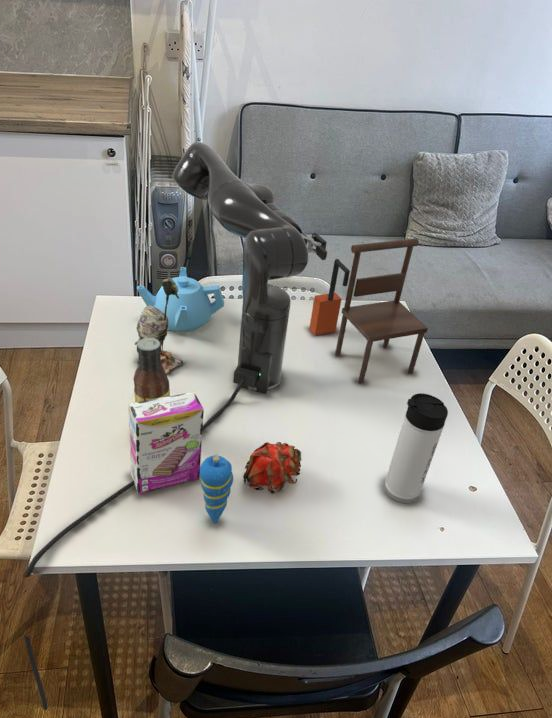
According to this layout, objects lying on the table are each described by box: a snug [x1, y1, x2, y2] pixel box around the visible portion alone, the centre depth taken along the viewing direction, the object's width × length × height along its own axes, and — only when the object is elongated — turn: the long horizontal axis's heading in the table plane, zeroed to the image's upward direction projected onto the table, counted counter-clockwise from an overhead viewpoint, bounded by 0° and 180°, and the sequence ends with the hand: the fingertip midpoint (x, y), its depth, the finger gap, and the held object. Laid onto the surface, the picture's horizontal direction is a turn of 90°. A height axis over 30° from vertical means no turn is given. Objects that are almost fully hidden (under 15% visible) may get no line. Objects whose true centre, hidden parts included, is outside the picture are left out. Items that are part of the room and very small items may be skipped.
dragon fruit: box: [242, 441, 303, 495], centre depth 109 cm, size 8×8×12 cm
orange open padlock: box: [308, 258, 351, 336], centre depth 144 cm, size 8×6×19 cm
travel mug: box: [383, 392, 449, 504], centre depth 106 cm, size 6×7×20 cm
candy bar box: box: [128, 391, 205, 495], centre depth 105 cm, size 11×5×16 cm, turn 114°
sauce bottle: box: [133, 338, 171, 403], centre depth 113 cm, size 7×6×20 cm
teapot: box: [136, 266, 225, 333], centre depth 147 cm, size 15×15×11 cm
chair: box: [334, 237, 429, 385], centre depth 134 cm, size 12×15×27 cm
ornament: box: [199, 455, 234, 524], centre depth 99 cm, size 5×5×15 cm
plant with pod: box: [133, 277, 185, 374], centre depth 130 cm, size 8×11×20 cm
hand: (308, 258), depth 151 cm, fingers open, 8 cm apart
